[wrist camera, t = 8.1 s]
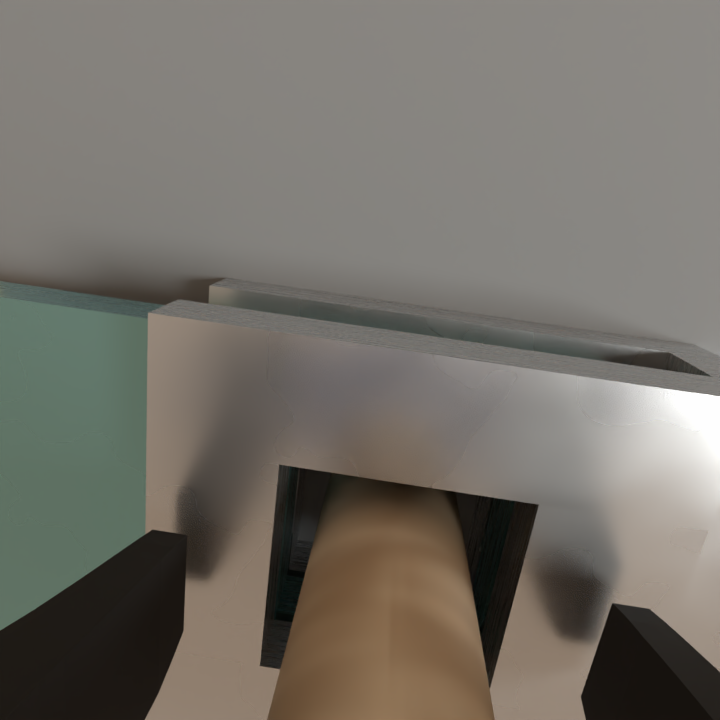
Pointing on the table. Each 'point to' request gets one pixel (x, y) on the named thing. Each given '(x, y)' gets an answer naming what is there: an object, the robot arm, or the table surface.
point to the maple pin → (385, 612)
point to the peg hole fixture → (357, 469)
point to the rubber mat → (371, 157)
